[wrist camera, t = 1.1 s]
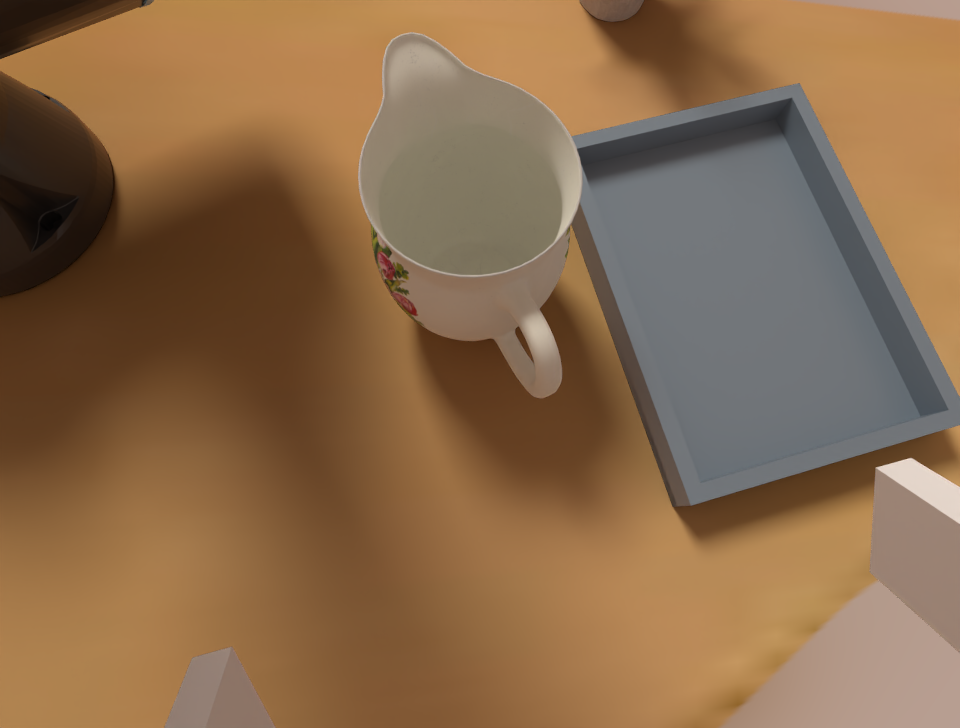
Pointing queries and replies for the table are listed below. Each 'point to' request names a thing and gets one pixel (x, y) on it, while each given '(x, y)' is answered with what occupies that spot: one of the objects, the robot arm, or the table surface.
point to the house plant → (612, 9)
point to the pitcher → (470, 203)
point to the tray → (751, 296)
